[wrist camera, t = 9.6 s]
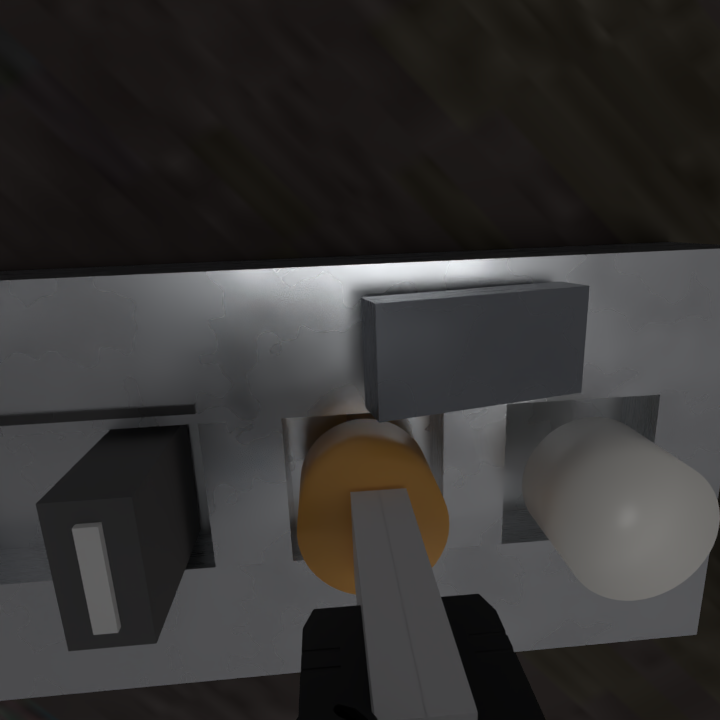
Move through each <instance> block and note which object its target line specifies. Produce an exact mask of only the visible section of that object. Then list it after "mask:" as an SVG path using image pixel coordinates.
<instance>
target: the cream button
mask: <svg viewBox="0 0 720 720" xmlns="http://www.w3.org/2000/svg"><path fill="white" fill-rule="evenodd" d="M522 493H523V499H524V502H525V505H526V507H527V509H528V511H529V513H530V514H531V516H532V517H533V518H534V520H535V521H536V523H537V524H538V525H539V527H540V528H541V529H542V531H543V532H544V534H545V535H546V536H547V538H548V539H549V540H550V542H551V543H552V545H553V546H554V547H555V549H556V550H557V551H558V553H559V554H560V556H561V557H562V558H563V560H564V561H565V562H566V564H567V565H568V567H569V568H570V569H571V571H572V572H573V573H574V575H575V576H576V578H577V579H578V580H579V581H580V582H581V583H582V584H583V585H584V586H585V587H586V588H588V589H589V590H590V591H592V592H594V593H596V594H598V595H600V596H603V597H606V598H609V599H614V600H622V601H634V600H642V599H647V598H651V597H655V596H657V595H660V594H663V593H665V592H667V591H669V590H671V589H673V588H675V587H676V586H678V585H679V584H681V583H682V582H684V581H685V580H686V579H687V578H689V577H690V576H691V575H692V574H693V573H694V572H695V571H696V570H697V569H698V568H699V567H700V566H701V564H702V563H703V562H704V560H705V559H706V557H707V556H708V554H709V553H710V551H711V549H712V547H713V545H714V542H715V540H716V537H717V533H718V529H719V521H720V512H719V505H718V500H717V497H716V495H715V492H714V490H713V489H712V487H711V485H710V484H709V483H708V481H707V480H706V479H705V478H704V477H703V476H702V475H701V474H700V473H698V472H697V471H696V470H694V469H693V468H691V467H689V466H688V465H686V464H685V463H683V462H682V461H680V460H679V459H677V458H676V457H674V456H673V455H671V454H670V453H668V452H667V451H665V450H664V449H662V448H661V447H659V446H658V445H656V444H654V443H653V442H651V441H650V440H648V439H647V438H645V437H644V436H642V435H641V434H639V433H638V432H636V431H635V430H633V429H632V428H630V427H629V426H627V425H625V424H624V423H622V422H619V421H617V420H614V419H610V418H605V417H587V418H581V419H577V420H573V421H571V422H568V423H566V424H564V425H562V426H560V427H558V428H556V429H555V430H553V431H552V432H551V433H549V434H548V435H547V436H546V437H545V438H544V439H543V440H542V441H541V442H540V443H539V444H538V445H537V446H536V448H535V449H534V450H533V452H532V454H531V455H530V457H529V459H528V461H527V464H526V466H525V469H524V473H523V479H522Z"/></svg>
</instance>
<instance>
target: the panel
mask: <svg viewBox="0 0 720 720" xmlns="http://www.w3.org/2000/svg"><path fill="white" fill-rule="evenodd" d="M560 281H561V282H568V283H574V284H581V285H588V286H590V287H589V301H588V314H587V327H586V340H585V353H584V366H583V379H582V392H581V393H576V394H569V395H563V396H556V397H549V398H542V399H535V400H529V401H522V402H515V403H508V404H502V405H495V406H488V407H481V408H474V409H468V410H461V411H454V412H447V413H441V414H434V415H427V416H420V417H413V418H407V419H400V420H393V421H386V422H389V423H392V424H394V425H396V426H398V427H400V428H402V429H403V430H404V431H406V432H407V433H408V434H409V435H411V436H412V437H413V438H414V440H415V441H416V442H417V443H418V445H419V446H420V448H421V450H422V452H423V454H424V456H425V458H426V461H427V463H428V465H429V467H430V469H431V472H432V474H433V476H434V478H435V480H436V483H437V485H438V487H439V489H440V491H441V494H442V496H443V498H444V500H445V503H446V506H447V509H448V514H449V535H448V539H447V543H446V545H445V548H444V551H443V552H442V554H441V556H440V558H439V559H438V561H437V562H436V564H435V565H434V566H433V567H432V571H433V574H434V577H435V580H436V583H437V586H438V589H439V592H440V596H441V597H444V596H456V595H468V594H480V595H481V596H482V597H483V598H484V599H485V600H486V601H487V602H488V603H489V604H490V605H491V606H492V607H493V608H494V609H495V610H496V611H497V613H498V615H499V618H500V620H501V622H502V624H503V627H504V629H505V632H506V635H508V638H509V640H510V642H511V644H512V646H513V650H514V652H518V651H528V650H539V649H550V648H560V647H571V646H581V645H592V644H602V643H613V642H623V641H634V640H644V639H655V638H665V637H676V636H686V635H697V628H698V622H699V615H700V609H701V603H702V596H703V590H704V583H705V577H706V571H707V564H708V558H709V554H708V556H707V557H706V559H705V560H704V562H703V563H702V564H701V566H700V567H699V568H698V569H697V570H696V571H695V572H694V573H693V574H692V575H691V576H690V577H689V578H687V579H686V580H685V581H684V582H682V583H681V584H679V585H678V586H676V587H675V588H673V589H671V590H669V591H667V592H665V593H663V594H660V595H657V596H655V597H651V598H647V599H642V600H634V601H622V600H614V599H609V598H606V597H603V596H600V595H598V594H596V593H594V592H592V591H590V590H589V589H588V588H586V587H585V586H584V585H583V584H582V583H581V582H580V581H579V580H578V579H577V578H576V576H575V575H574V573H573V572H572V571H571V569H570V568H569V567H568V565H567V564H566V562H565V561H564V560H563V558H562V557H561V556H560V554H559V553H558V551H557V550H556V549H555V547H554V546H553V545H552V543H551V542H550V540H549V539H548V538H547V536H546V535H545V534H544V532H543V531H542V529H541V528H540V527H539V525H538V524H537V523H536V521H535V520H534V518H533V517H532V516H531V514H530V513H529V511H528V509H527V507H526V505H525V502H524V499H523V493H522V479H523V473H524V469H525V466H526V464H527V461H528V459H529V457H530V455H531V454H532V452H533V450H534V449H535V448H536V446H537V445H538V444H539V443H540V442H541V441H542V440H543V439H544V438H545V437H546V436H547V435H548V434H549V433H551V432H552V431H553V430H555V429H556V428H558V427H560V426H562V425H564V424H566V423H568V422H571V421H573V420H577V419H581V418H587V417H605V418H610V419H614V420H617V421H619V422H622V423H624V424H625V425H627V426H629V427H630V428H632V429H633V430H635V431H636V432H638V433H639V434H641V435H642V436H644V437H645V438H647V439H648V440H650V441H651V442H653V443H654V444H656V445H658V446H659V447H661V448H662V449H664V450H665V451H667V452H668V453H670V454H671V455H673V456H674V457H676V458H677V459H679V460H680V461H682V462H683V463H685V464H686V465H688V466H689V467H691V468H693V469H694V470H696V471H697V472H698V473H700V474H701V475H702V476H703V477H704V478H705V479H706V480H707V481H708V483H709V484H710V485H711V487H712V489H713V490H714V492H715V495H716V497H717V500H718V494H719V488H720V245H714V244H696V243H678V242H659V243H636V244H613V245H590V246H567V247H544V248H521V249H498V250H475V251H452V252H429V253H406V254H383V255H360V256H337V257H314V258H291V259H268V260H245V261H222V262H199V263H176V264H153V265H130V266H107V267H84V268H61V269H38V270H15V271H0V701H3V700H13V699H24V698H34V697H45V696H55V695H66V694H76V693H87V692H97V691H108V690H118V689H129V688H139V687H150V686H160V685H171V684H181V683H192V682H202V681H213V680H223V679H234V678H244V677H255V676H266V675H276V674H287V673H297V672H301V655H302V631H303V627H304V625H305V623H306V622H307V620H308V618H309V616H310V614H311V613H312V611H313V609H320V608H332V607H344V606H356V605H357V602H356V595H355V594H350V593H346V592H343V591H340V590H338V589H335V588H333V587H331V586H329V585H328V584H326V583H325V582H323V581H322V580H321V579H319V578H318V577H317V576H316V575H315V574H314V573H313V572H312V571H311V570H310V568H309V567H308V565H307V564H306V562H305V561H304V559H303V557H302V555H301V552H300V549H299V546H298V539H297V520H298V506H299V492H300V477H301V469H302V465H303V462H304V459H305V457H306V454H307V452H308V451H309V449H310V448H311V446H312V445H313V444H314V442H315V441H316V440H317V439H318V438H319V437H320V436H321V435H322V434H324V433H325V432H326V431H328V430H329V429H331V428H333V427H335V426H337V425H339V424H341V423H344V422H347V421H351V420H356V419H375V418H374V416H373V415H372V414H371V413H370V412H369V411H368V410H367V409H366V408H365V391H364V365H363V338H362V311H361V297H372V296H384V295H397V294H409V293H422V292H434V291H447V290H459V289H472V288H485V287H497V286H510V285H522V284H535V283H547V282H560ZM171 425H187V429H188V436H189V444H190V451H191V459H192V466H193V474H194V481H195V489H196V497H197V504H198V512H199V519H200V527H201V529H200V532H199V535H198V537H197V540H196V542H195V545H194V548H193V550H192V553H191V555H190V558H189V561H188V563H187V566H186V568H185V571H184V574H183V576H182V579H181V581H180V584H179V587H178V589H177V592H176V594H175V597H174V600H173V602H172V605H171V608H170V610H169V613H168V615H167V618H166V621H165V623H164V626H163V628H162V631H161V634H160V636H159V639H158V641H157V643H156V644H145V645H134V646H123V647H112V648H101V649H90V650H79V651H68V647H67V643H66V638H65V634H64V629H63V625H62V620H61V616H60V611H59V607H58V603H57V598H56V594H55V589H54V585H53V580H52V576H51V571H50V567H49V562H48V558H47V553H46V549H45V544H44V540H43V535H42V531H41V526H40V522H39V517H38V513H37V508H36V503H37V502H38V501H39V500H40V499H41V498H42V497H43V496H44V495H45V494H46V493H47V492H48V491H49V490H50V489H51V488H52V487H53V486H54V485H55V484H56V483H57V482H58V481H59V480H60V479H61V478H62V477H63V476H64V475H65V474H66V473H67V472H68V471H69V470H70V469H71V468H72V467H73V466H74V465H75V464H76V463H77V462H78V461H79V460H80V459H81V458H82V457H83V456H84V455H85V454H86V453H87V452H88V451H89V450H90V449H91V448H92V447H93V446H94V445H95V444H96V443H97V442H98V441H99V440H100V439H101V438H102V437H103V436H104V435H105V434H106V433H107V432H108V431H109V430H110V429H124V428H139V427H155V426H171Z"/></svg>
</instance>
